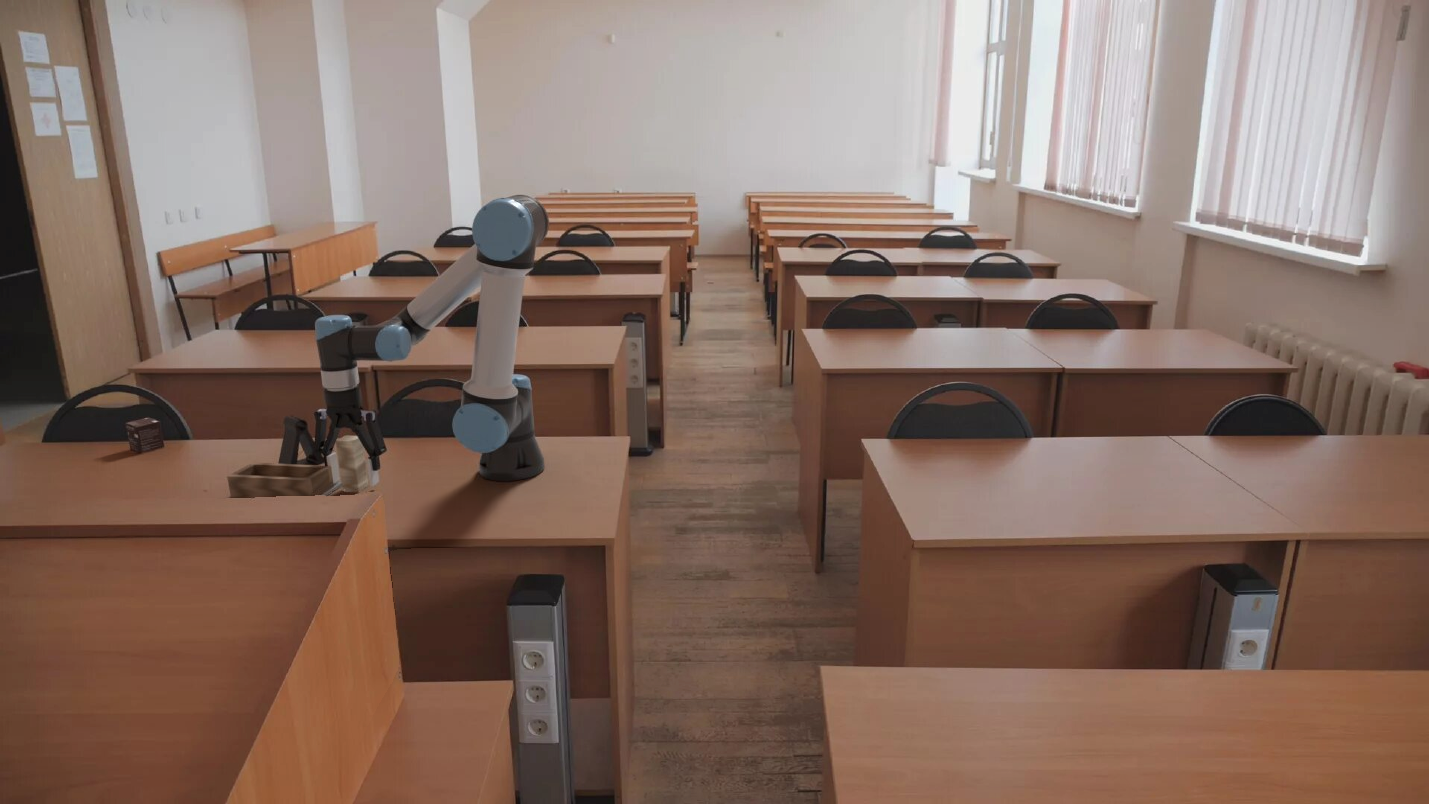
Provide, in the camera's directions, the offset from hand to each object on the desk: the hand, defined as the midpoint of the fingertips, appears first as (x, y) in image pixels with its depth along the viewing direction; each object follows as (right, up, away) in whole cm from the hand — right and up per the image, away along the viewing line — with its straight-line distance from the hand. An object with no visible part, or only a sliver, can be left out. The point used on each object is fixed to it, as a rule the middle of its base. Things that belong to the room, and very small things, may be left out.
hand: (354, 482), depth 212 cm
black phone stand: (-19, +3, +17) cm, 26 cm away
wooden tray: (-15, -3, -3) cm, 15 cm away
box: (-65, +6, +31) cm, 73 cm away
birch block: (0, -1, 0) cm, 1 cm away
